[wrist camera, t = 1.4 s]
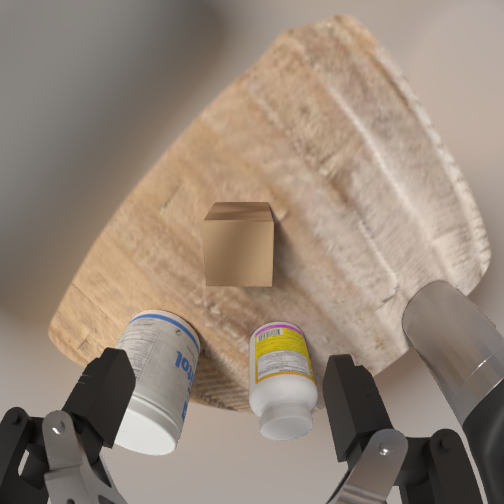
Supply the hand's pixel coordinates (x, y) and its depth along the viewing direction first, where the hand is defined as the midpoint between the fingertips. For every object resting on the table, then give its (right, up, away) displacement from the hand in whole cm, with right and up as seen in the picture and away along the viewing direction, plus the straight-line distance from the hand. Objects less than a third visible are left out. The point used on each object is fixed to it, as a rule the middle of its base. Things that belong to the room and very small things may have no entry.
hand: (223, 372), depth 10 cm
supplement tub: (-10, -6, +22) cm, 25 cm away
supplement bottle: (+4, -6, +22) cm, 23 cm away
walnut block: (0, +7, +17) cm, 18 cm away
